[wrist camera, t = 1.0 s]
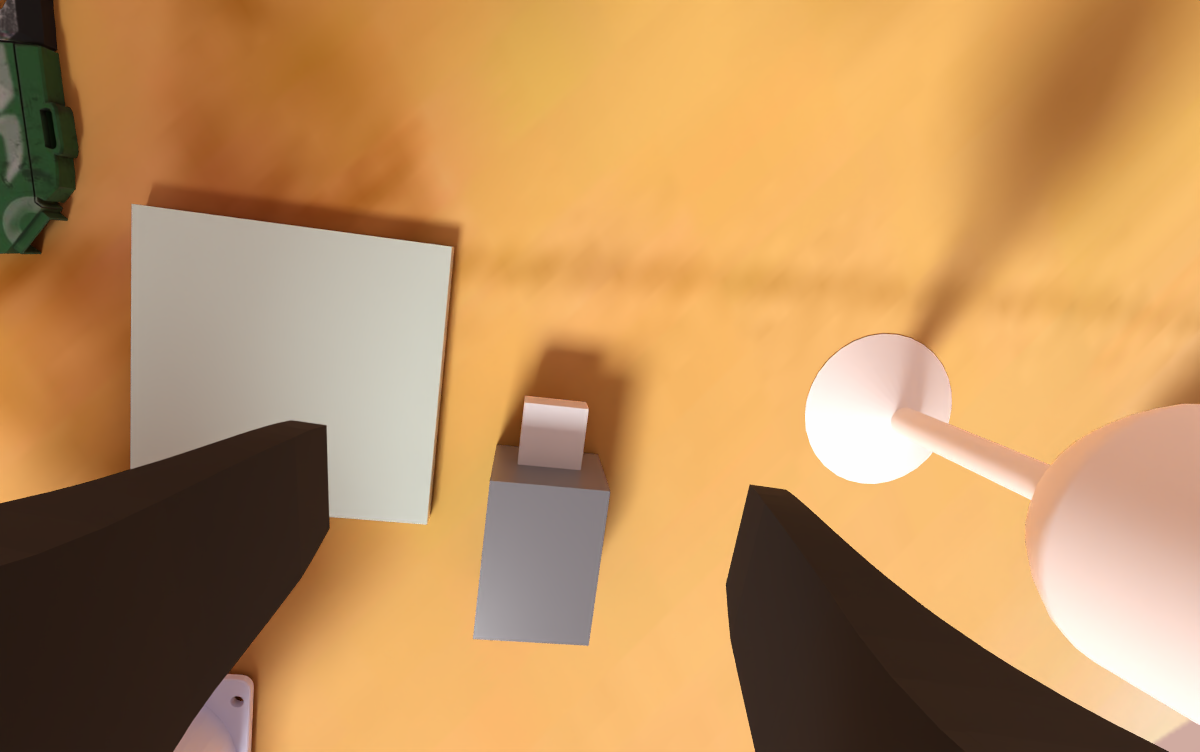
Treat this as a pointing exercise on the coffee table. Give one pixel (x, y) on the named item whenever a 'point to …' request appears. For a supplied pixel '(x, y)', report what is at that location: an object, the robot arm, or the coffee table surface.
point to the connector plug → (543, 531)
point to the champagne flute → (1049, 505)
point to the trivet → (291, 348)
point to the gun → (32, 126)
